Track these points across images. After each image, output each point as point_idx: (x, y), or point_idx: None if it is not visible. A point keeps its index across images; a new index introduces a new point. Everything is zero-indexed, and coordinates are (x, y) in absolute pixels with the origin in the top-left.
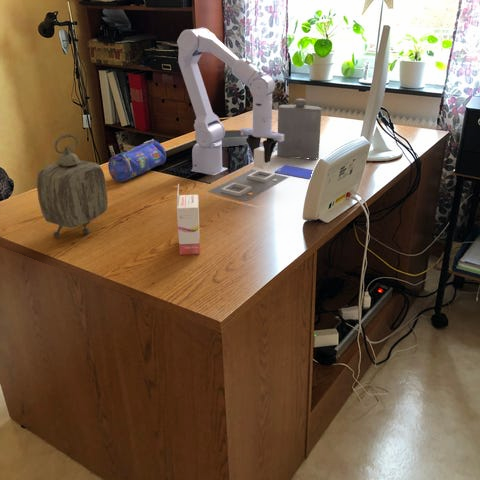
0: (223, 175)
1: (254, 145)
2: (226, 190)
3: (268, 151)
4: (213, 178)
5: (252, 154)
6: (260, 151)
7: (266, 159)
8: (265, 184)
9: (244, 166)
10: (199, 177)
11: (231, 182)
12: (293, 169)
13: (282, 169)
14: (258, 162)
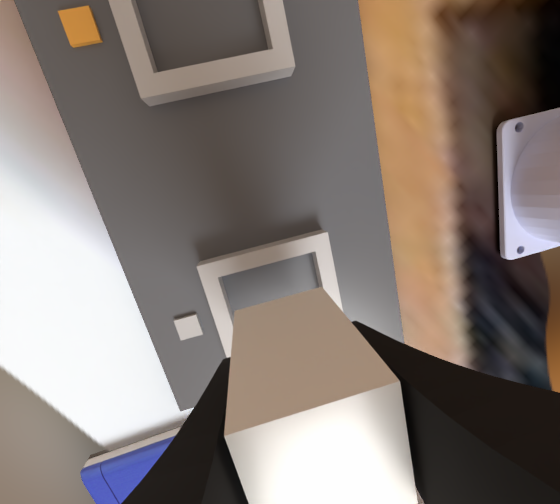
0: (465, 183)
1: (449, 452)
2: None
3: (151, 479)
4: (477, 103)
5: (388, 338)
6: (280, 407)
7: (212, 377)
8: (171, 240)
9: (467, 352)
10: (549, 52)
11: (341, 107)
12: None
13: None
14: (287, 317)
